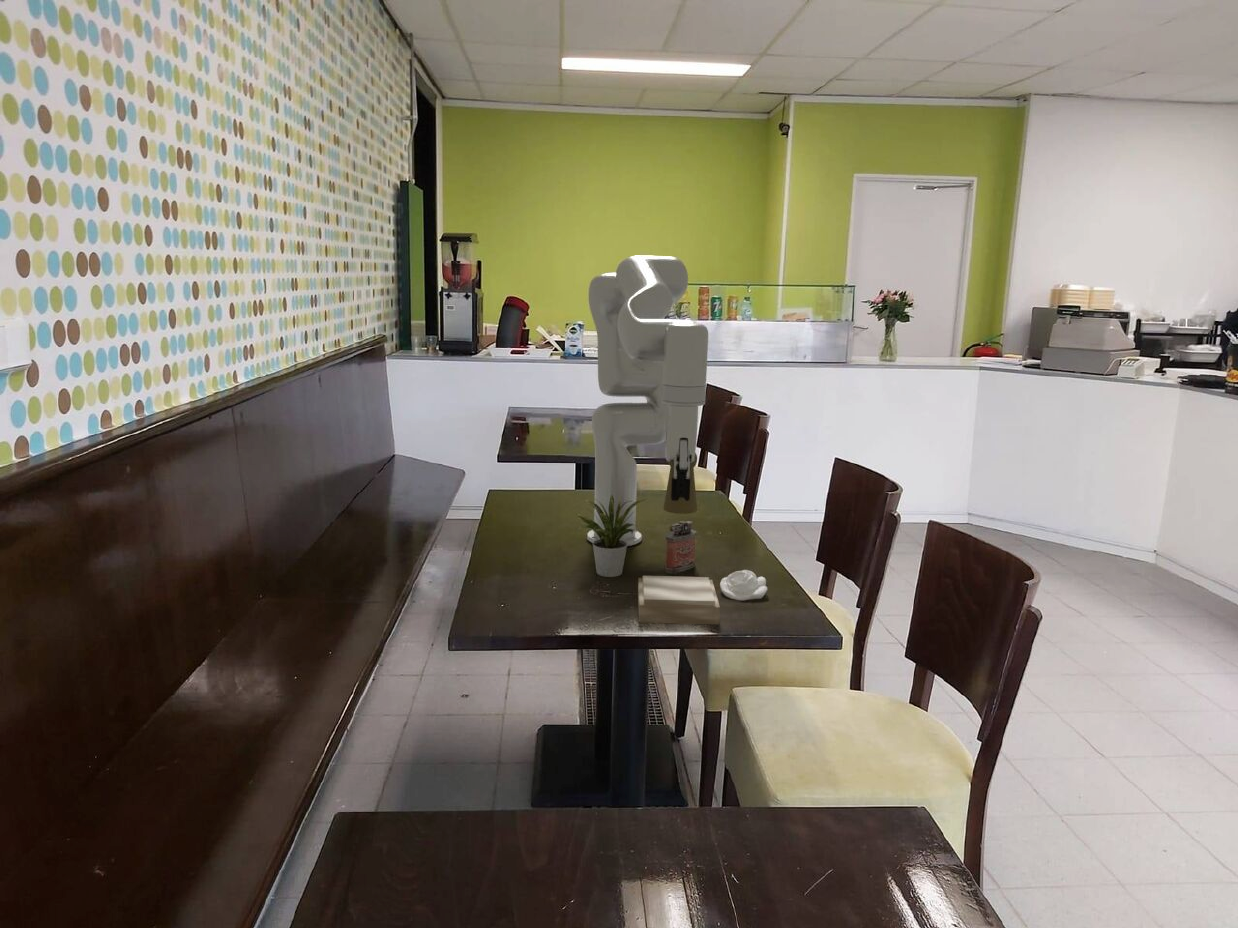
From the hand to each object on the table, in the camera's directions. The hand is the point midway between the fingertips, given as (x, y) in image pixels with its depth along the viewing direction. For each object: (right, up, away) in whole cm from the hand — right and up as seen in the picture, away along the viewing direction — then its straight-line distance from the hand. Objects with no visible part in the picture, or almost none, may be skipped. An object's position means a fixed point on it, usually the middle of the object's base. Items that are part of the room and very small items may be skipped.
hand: (679, 496), depth 153 cm
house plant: (-12, -16, +24) cm, 31 cm away
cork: (0, -2, +1) cm, 3 cm away
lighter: (+2, -16, +27) cm, 31 cm away
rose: (+13, -19, +14) cm, 27 cm away
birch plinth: (0, -21, +4) cm, 21 cm away
